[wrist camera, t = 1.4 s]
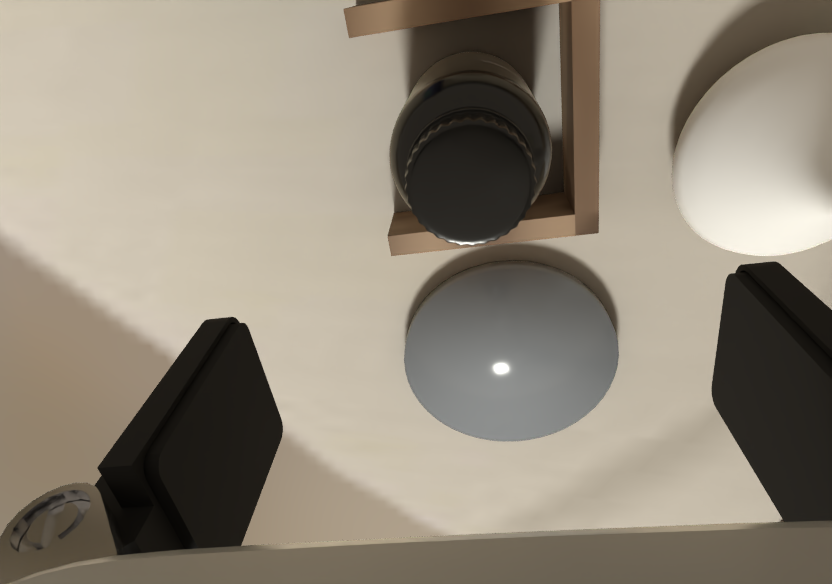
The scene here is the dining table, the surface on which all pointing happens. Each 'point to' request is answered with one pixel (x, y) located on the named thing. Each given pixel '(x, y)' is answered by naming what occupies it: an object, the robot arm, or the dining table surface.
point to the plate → (510, 351)
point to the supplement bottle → (470, 149)
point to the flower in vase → (762, 152)
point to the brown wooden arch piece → (580, 54)
